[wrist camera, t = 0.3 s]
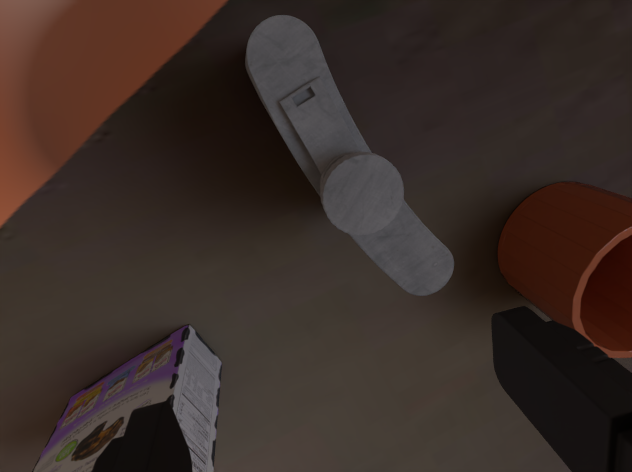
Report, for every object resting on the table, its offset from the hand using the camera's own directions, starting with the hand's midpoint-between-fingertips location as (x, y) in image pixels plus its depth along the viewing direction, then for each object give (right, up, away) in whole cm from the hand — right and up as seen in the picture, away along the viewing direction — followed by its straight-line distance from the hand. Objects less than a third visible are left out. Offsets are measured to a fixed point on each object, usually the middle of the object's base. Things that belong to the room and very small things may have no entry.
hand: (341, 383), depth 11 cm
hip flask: (-1, +12, +27) cm, 29 cm away
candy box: (-17, -10, +33) cm, 38 cm away
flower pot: (+24, +3, +34) cm, 42 cm away
